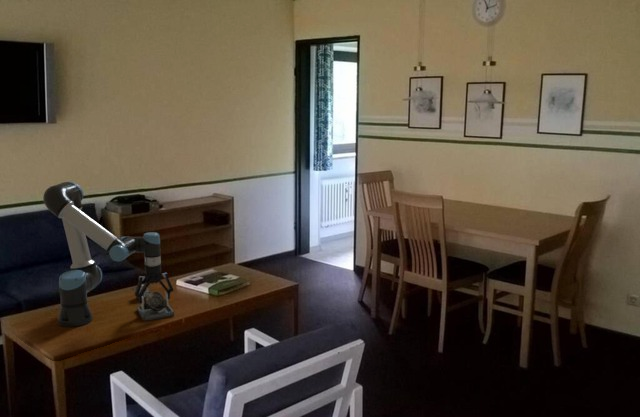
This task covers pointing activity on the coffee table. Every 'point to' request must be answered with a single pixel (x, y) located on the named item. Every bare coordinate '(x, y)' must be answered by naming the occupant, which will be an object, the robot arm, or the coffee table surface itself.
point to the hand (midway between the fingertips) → (155, 307)
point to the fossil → (154, 301)
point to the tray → (155, 313)
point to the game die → (144, 292)
